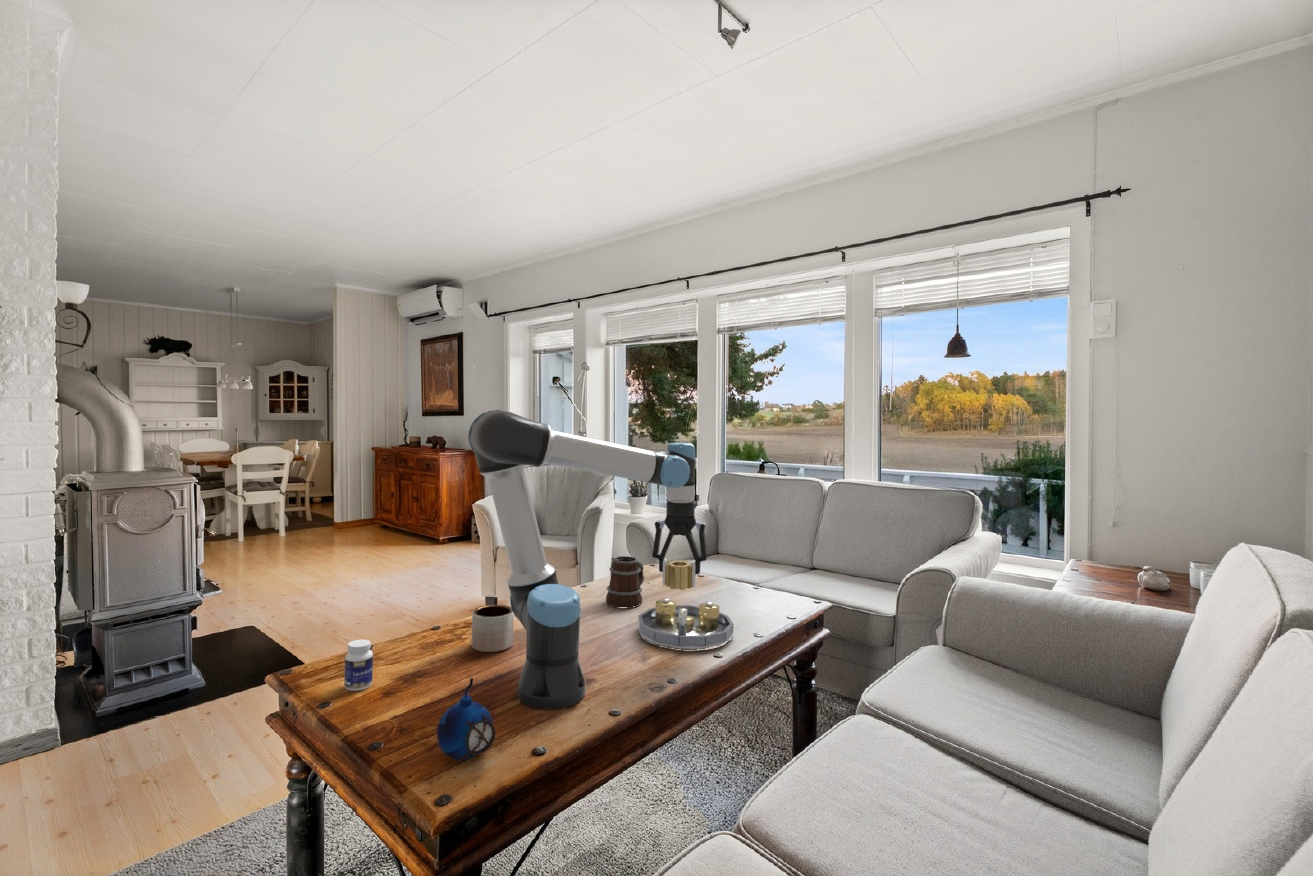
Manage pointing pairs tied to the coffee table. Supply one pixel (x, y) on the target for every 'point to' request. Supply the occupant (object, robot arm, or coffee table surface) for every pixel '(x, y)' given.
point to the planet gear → (679, 575)
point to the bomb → (465, 729)
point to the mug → (625, 582)
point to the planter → (492, 628)
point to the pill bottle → (358, 665)
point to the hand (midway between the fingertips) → (679, 584)
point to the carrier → (685, 625)
